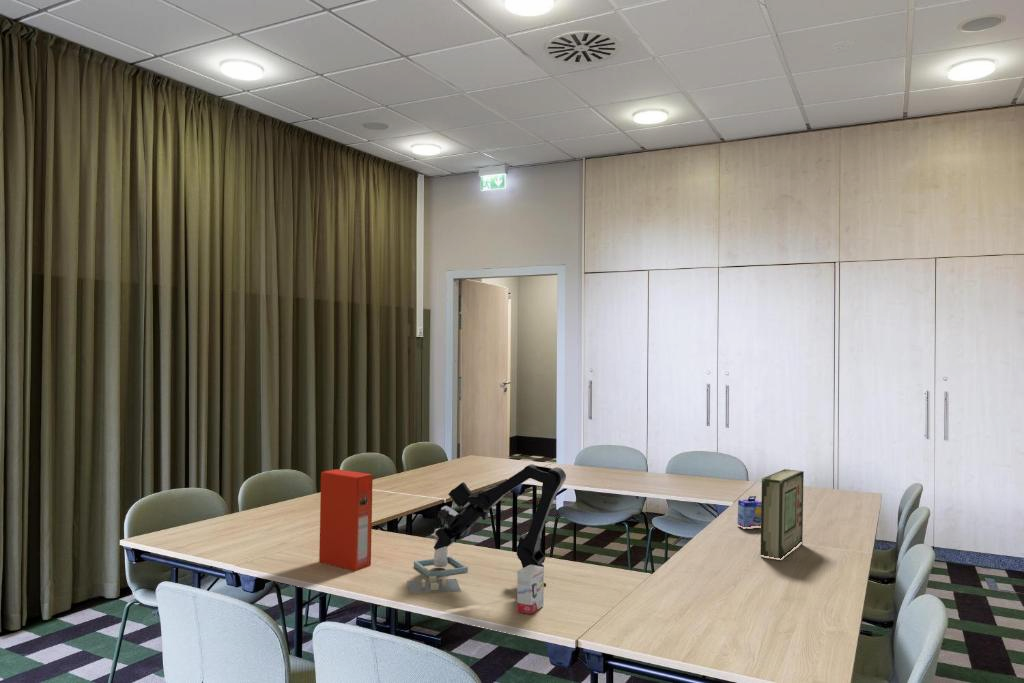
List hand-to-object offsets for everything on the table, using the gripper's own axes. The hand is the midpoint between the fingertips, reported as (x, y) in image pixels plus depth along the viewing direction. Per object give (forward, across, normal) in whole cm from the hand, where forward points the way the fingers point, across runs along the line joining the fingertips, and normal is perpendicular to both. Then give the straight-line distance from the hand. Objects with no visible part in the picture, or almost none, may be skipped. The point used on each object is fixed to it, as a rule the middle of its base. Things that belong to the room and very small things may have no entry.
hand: (437, 546), depth 238 cm
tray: (+5, 0, +7) cm, 8 cm away
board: (+1, +17, +10) cm, 20 cm away
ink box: (-22, +21, +34) cm, 46 cm away
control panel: (-75, -76, +88) cm, 138 cm away
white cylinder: (+3, 0, +5) cm, 6 cm away
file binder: (+29, +5, -17) cm, 35 cm away
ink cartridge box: (-67, -109, +79) cm, 150 cm away
